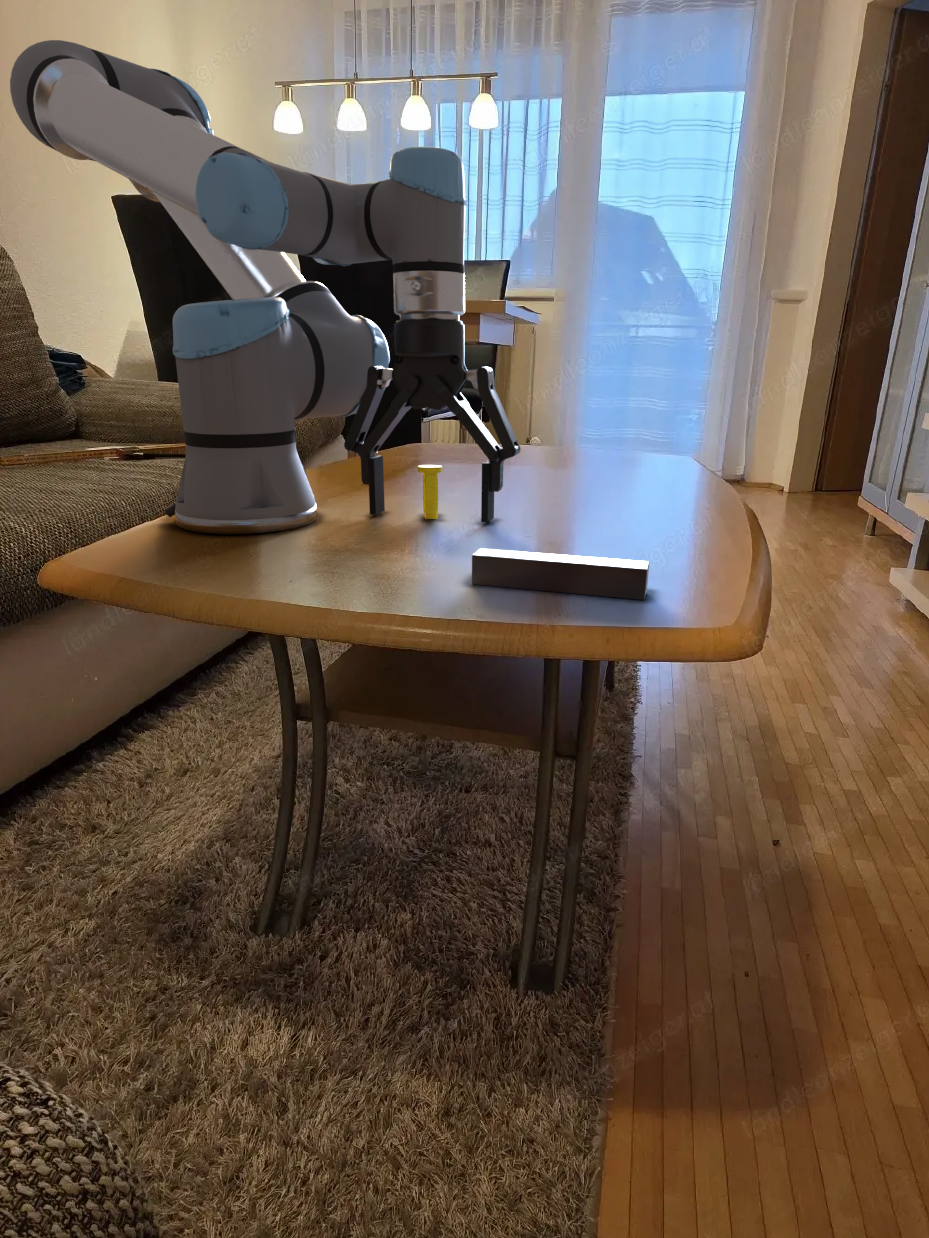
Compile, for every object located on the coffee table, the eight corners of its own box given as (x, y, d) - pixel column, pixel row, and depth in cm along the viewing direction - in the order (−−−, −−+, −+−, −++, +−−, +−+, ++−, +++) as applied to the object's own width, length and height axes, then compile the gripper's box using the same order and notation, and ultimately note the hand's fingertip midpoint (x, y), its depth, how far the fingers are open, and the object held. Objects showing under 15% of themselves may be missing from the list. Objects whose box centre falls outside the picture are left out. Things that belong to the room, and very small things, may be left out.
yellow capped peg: (444, 523, 85) (444, 469, 83) (419, 523, 85) (419, 469, 83) (440, 512, 90) (440, 462, 88) (417, 512, 90) (416, 462, 88)
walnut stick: (471, 584, 62) (471, 554, 62) (479, 576, 65) (480, 547, 64) (644, 600, 59) (647, 569, 58) (646, 591, 61) (649, 561, 60)
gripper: (307, 317, 80) (319, 515, 87) (537, 315, 74) (529, 530, 81) (338, 321, 87) (346, 504, 94) (551, 319, 80) (543, 516, 87)
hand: (431, 516), depth 87 cm, fingers open, 13 cm apart
